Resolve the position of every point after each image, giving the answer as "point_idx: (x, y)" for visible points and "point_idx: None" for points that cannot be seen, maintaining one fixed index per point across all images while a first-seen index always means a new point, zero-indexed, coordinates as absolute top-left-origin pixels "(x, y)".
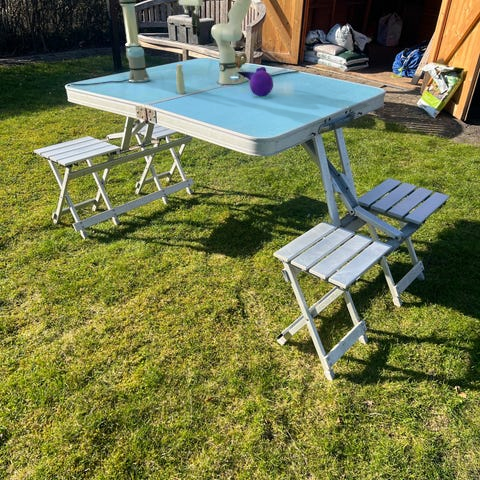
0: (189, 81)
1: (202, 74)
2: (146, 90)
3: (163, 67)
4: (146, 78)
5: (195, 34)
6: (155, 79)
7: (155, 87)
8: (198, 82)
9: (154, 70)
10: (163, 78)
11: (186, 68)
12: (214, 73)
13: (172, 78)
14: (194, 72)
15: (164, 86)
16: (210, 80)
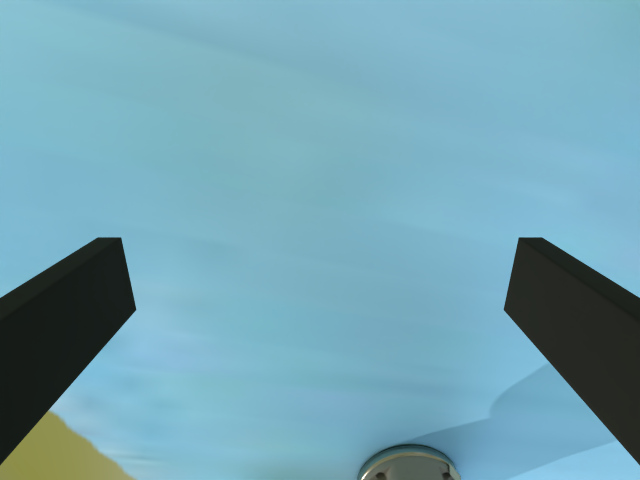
0: None
1: (376, 139)
2: (637, 475)
3: None
4: (453, 473)
5: (122, 260)
6: (401, 418)
7: (601, 440)
8: (633, 230)
9: (115, 392)
10: (394, 383)
11: (79, 200)
12: (377, 29)
13: (419, 343)
14: (270, 178)
15: None
16: (627, 139)
